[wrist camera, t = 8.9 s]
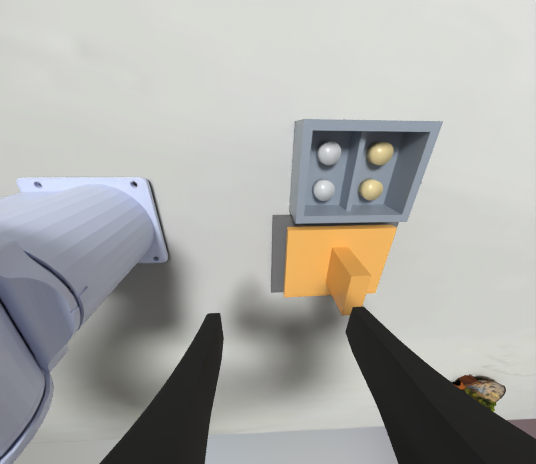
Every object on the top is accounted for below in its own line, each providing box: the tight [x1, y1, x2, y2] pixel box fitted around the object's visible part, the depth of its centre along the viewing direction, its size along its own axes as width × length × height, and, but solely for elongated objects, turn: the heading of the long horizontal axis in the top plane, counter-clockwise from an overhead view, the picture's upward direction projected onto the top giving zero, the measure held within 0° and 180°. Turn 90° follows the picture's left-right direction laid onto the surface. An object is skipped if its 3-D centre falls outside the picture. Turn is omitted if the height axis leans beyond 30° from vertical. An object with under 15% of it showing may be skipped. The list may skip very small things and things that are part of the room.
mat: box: [271, 215, 399, 293], centre depth 20 cm, size 12×9×1 cm
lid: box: [283, 225, 397, 315], centre depth 18 cm, size 10×8×6 cm
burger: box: [454, 375, 506, 412], centre depth 33 cm, size 12×12×8 cm
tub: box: [289, 119, 443, 224], centre depth 15 cm, size 9×7×3 cm
